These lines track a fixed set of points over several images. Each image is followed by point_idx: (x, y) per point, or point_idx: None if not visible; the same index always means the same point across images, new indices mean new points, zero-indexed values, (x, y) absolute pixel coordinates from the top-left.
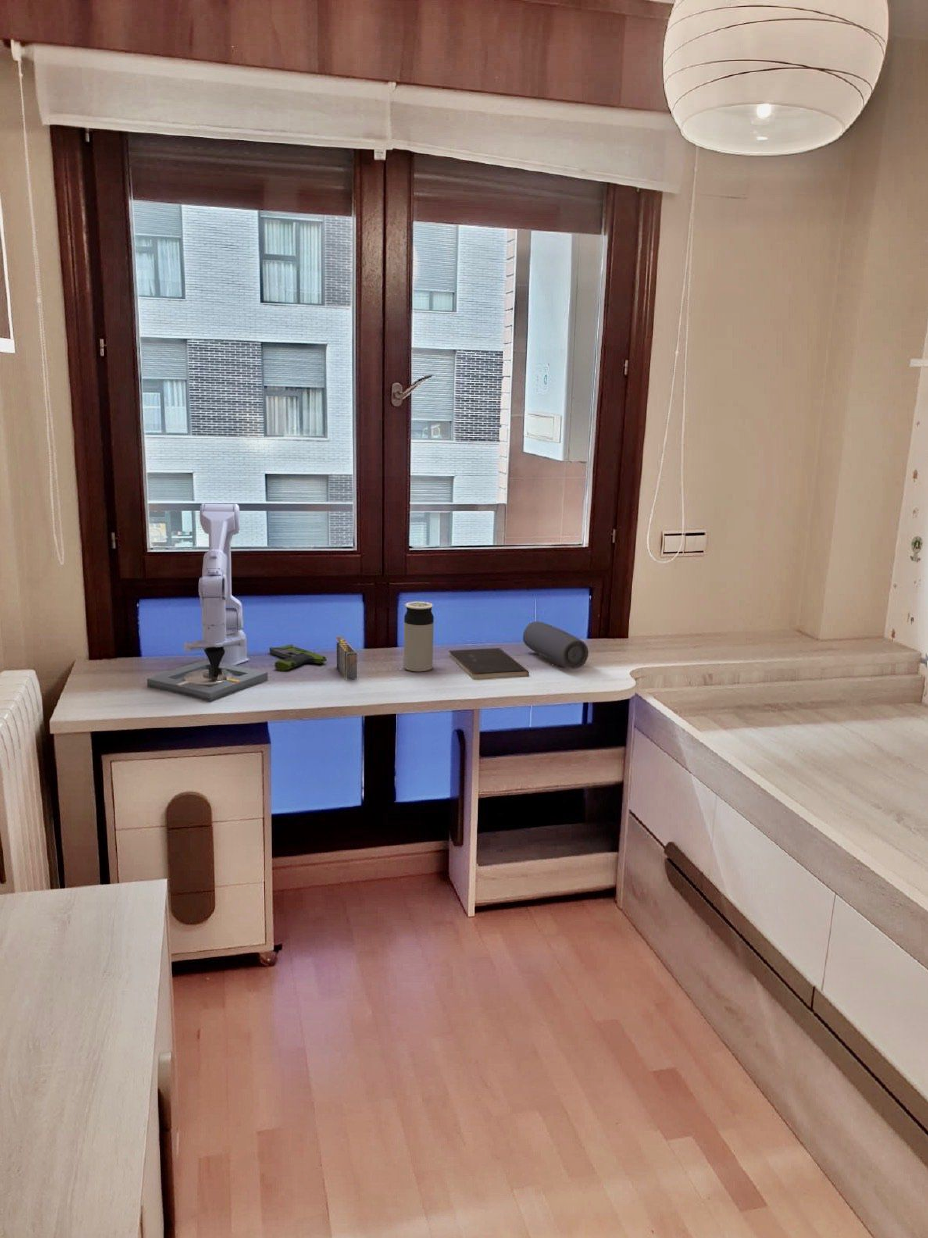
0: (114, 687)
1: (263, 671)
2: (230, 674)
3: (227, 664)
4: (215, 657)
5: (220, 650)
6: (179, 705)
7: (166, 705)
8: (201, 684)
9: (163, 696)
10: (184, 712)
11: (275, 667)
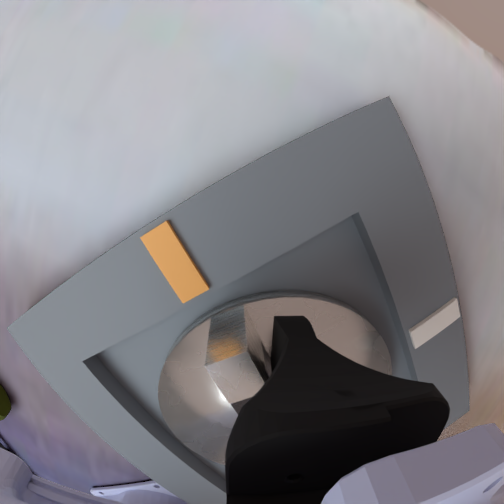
0: (494, 400)
1: (21, 346)
2: (167, 390)
3: (159, 479)
4: (350, 384)
5: (301, 457)
6: (474, 145)
7: (500, 175)
8: (356, 312)
9: (476, 285)
10: (470, 61)
11: (10, 404)
